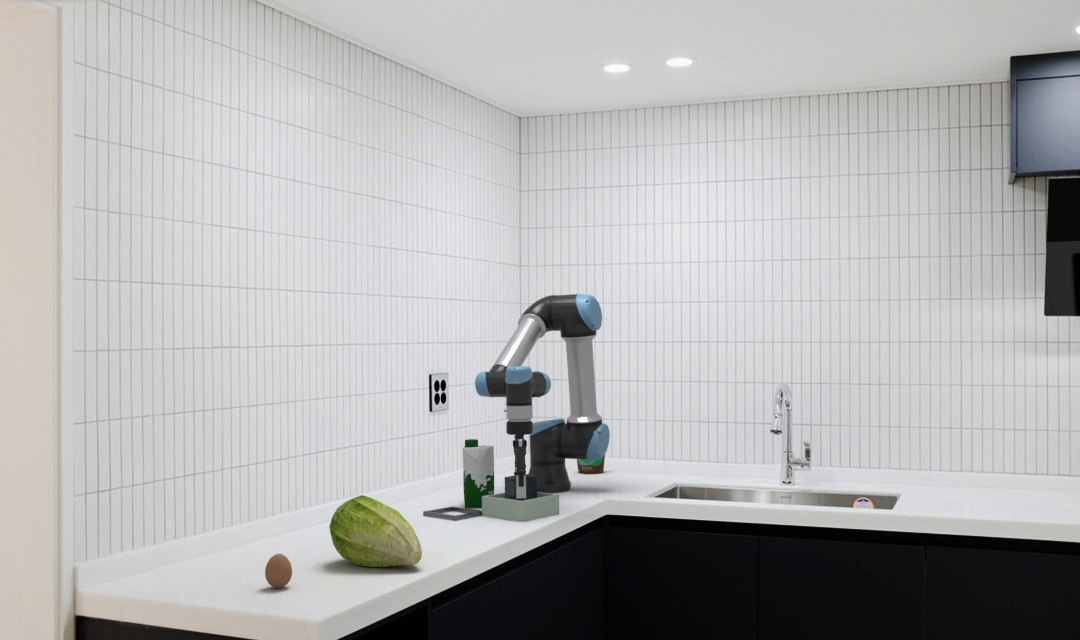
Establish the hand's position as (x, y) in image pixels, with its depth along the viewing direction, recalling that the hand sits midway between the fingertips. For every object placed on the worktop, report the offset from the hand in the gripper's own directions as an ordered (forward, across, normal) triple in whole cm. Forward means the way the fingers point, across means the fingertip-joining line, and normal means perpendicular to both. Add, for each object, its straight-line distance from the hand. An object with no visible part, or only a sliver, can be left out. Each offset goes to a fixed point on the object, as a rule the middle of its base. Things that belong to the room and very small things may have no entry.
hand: (520, 494), depth 302 cm
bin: (+6, 0, 0) cm, 6 cm away
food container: (+6, -88, +28) cm, 92 cm away
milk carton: (+6, -18, -12) cm, 22 cm away
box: (+5, 0, 0) cm, 5 cm away
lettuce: (+6, +62, -34) cm, 71 cm away
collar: (+6, -2, -19) cm, 20 cm away
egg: (+6, +82, -52) cm, 98 cm away
